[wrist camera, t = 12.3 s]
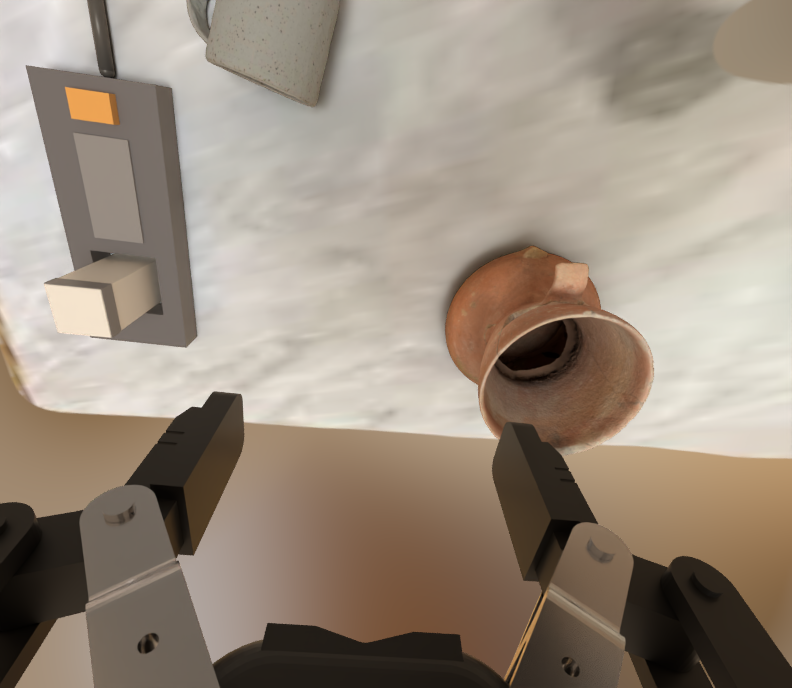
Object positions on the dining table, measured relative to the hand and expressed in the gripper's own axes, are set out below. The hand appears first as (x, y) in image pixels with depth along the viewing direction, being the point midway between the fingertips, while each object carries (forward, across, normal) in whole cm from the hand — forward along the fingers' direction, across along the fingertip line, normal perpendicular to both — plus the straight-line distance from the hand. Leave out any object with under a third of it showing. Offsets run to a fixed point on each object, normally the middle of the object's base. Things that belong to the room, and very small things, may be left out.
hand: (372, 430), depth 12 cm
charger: (+28, +23, +7) cm, 37 cm away
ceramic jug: (+28, -14, +7) cm, 32 cm away
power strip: (+28, +23, -1) cm, 36 cm away
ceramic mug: (+28, +10, -14) cm, 33 cm away
